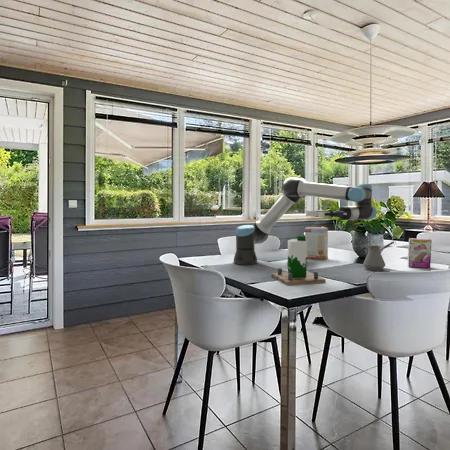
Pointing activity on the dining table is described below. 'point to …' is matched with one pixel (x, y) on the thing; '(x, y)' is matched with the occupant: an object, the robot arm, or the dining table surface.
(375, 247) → the coffee pot
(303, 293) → the dining table surface
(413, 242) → the candy bar box
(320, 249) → the cracker box
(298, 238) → the soya milk
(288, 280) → the peg board
